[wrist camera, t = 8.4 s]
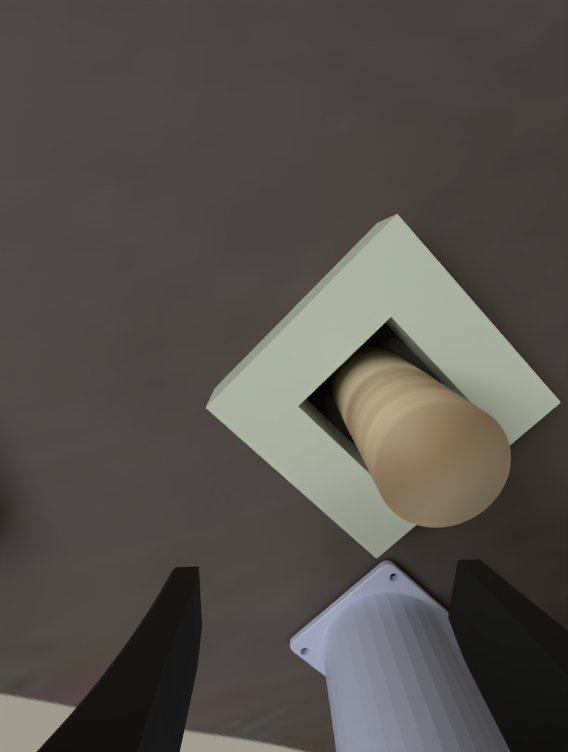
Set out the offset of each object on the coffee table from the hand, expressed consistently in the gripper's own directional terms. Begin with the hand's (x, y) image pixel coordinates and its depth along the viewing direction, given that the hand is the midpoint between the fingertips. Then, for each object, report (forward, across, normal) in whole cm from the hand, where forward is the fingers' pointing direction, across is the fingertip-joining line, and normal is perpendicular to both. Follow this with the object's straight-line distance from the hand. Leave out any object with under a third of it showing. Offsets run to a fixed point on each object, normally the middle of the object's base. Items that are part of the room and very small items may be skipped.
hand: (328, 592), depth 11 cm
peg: (+10, -4, -2) cm, 11 cm away
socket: (+10, -4, -2) cm, 11 cm away
